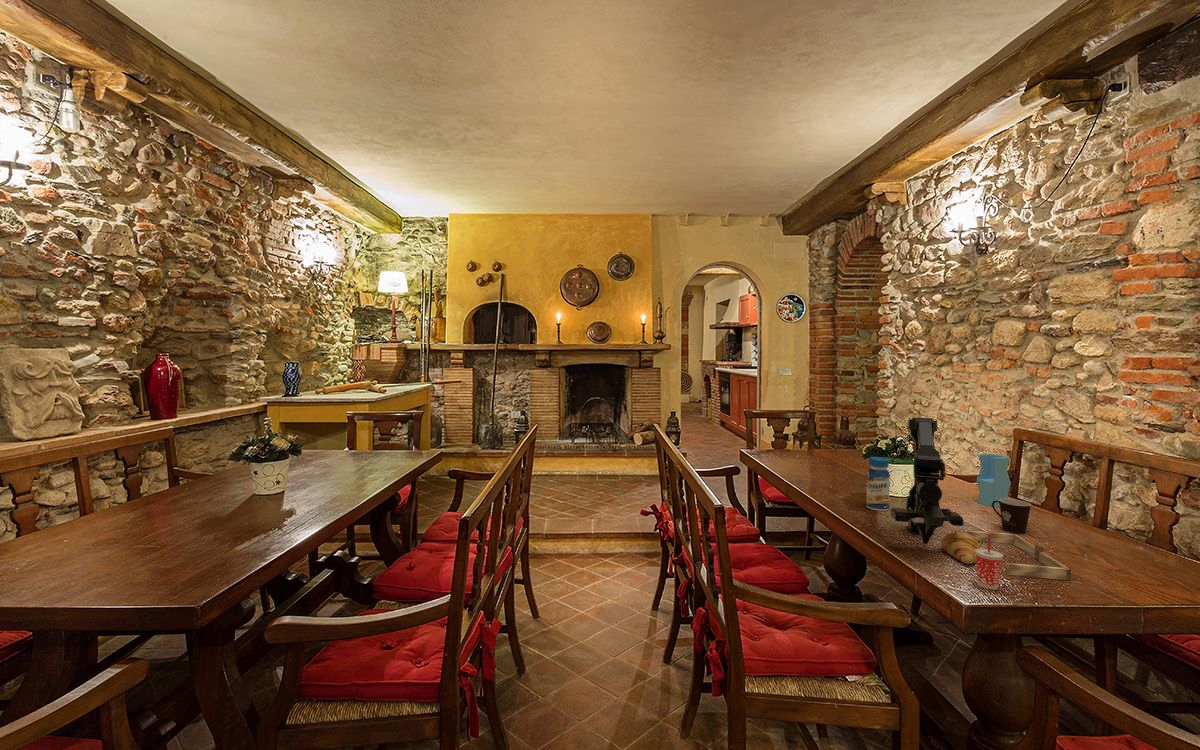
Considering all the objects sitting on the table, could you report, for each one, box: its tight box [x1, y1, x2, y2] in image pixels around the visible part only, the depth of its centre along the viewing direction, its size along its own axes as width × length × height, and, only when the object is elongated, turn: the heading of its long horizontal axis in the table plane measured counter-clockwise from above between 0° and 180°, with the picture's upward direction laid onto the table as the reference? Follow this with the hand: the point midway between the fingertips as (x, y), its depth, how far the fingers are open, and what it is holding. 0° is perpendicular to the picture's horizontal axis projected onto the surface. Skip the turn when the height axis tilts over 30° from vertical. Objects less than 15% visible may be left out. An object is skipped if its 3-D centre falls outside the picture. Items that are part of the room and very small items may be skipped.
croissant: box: [940, 531, 981, 565], centre depth 161 cm, size 21×10×8 cm, turn 156°
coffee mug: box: [991, 498, 1032, 535], centre depth 183 cm, size 12×9×10 cm
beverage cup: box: [975, 534, 1004, 591], centre depth 139 cm, size 6×6×14 cm
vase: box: [976, 453, 1012, 509], centre depth 212 cm, size 8×8×20 cm
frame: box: [963, 530, 1072, 581], centre depth 158 cm, size 15×28×4 cm, turn 166°
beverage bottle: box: [865, 456, 891, 512], centre depth 206 cm, size 8×8×20 cm
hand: (925, 543), depth 164 cm, fingers closed
